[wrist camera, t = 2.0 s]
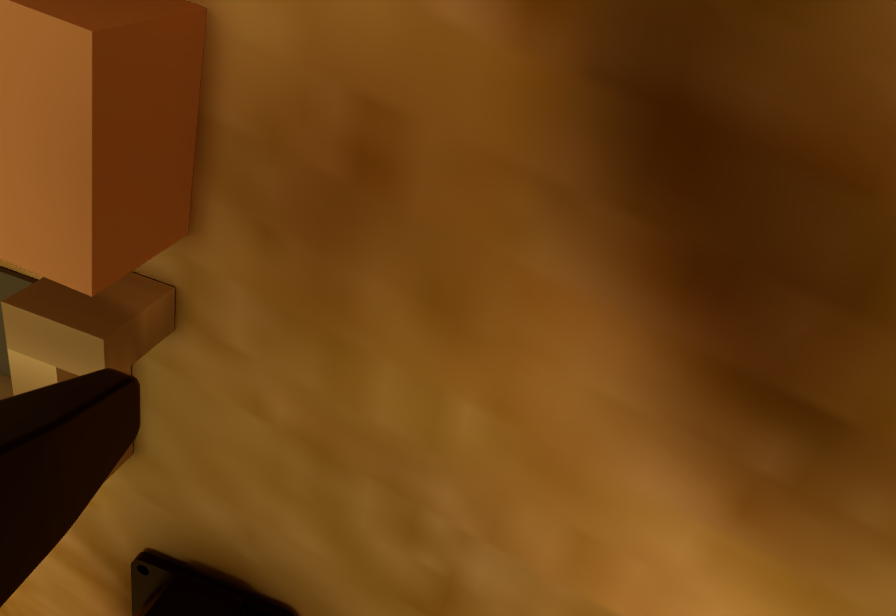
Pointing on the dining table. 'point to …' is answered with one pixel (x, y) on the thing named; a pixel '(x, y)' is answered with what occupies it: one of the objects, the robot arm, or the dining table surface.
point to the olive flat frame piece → (82, 331)
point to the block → (96, 133)
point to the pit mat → (3, 286)
